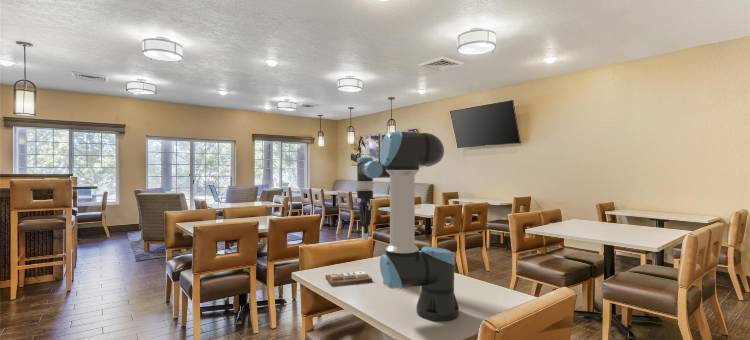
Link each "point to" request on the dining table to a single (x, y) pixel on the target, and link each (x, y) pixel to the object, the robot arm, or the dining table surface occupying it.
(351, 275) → the tile
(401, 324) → the dining table surface
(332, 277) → the tile
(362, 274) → the tile
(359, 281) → the board
